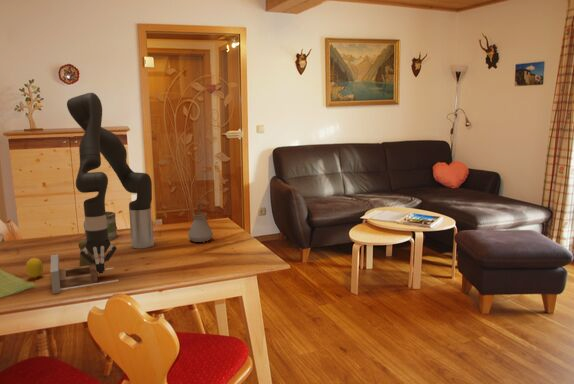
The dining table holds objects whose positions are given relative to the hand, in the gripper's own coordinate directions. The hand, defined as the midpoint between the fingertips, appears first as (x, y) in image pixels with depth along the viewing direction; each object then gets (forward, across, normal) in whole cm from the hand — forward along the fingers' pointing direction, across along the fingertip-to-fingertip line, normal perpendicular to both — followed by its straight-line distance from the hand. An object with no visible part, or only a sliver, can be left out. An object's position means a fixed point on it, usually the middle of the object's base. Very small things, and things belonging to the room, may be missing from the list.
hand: (100, 272), depth 174 cm
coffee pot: (+2, -47, -35) cm, 59 cm away
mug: (+2, -4, -53) cm, 53 cm away
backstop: (+2, +5, 0) cm, 5 cm away
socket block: (+2, +8, 0) cm, 8 cm away
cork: (+2, +4, -15) cm, 16 cm away
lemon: (+2, +22, -10) cm, 24 cm away
